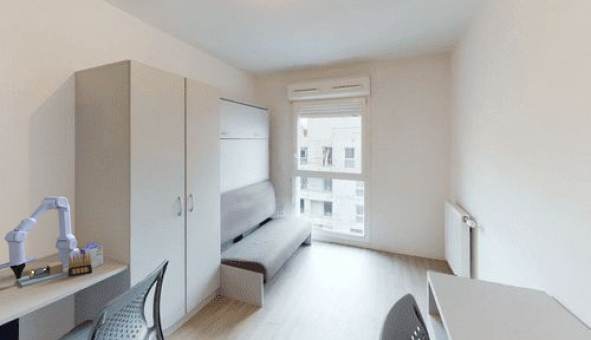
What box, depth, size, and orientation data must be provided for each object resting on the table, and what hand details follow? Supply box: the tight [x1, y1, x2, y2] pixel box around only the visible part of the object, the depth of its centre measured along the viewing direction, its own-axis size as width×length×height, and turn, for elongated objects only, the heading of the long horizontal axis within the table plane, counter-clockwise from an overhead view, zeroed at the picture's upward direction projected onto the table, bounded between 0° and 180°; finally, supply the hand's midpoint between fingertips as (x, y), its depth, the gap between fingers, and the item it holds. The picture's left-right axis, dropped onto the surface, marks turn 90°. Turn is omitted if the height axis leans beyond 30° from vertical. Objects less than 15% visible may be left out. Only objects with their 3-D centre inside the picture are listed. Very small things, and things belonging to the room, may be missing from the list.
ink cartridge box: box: [80, 242, 104, 269], centre depth 166 cm, size 10×6×14 cm, turn 155°
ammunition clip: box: [67, 253, 93, 278], centre depth 156 cm, size 11×2×12 cm, turn 121°
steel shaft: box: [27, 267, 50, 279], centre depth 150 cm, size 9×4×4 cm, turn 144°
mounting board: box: [16, 260, 68, 288], centre depth 151 cm, size 18×12×6 cm, turn 144°
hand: (18, 278), depth 143 cm, fingers closed
